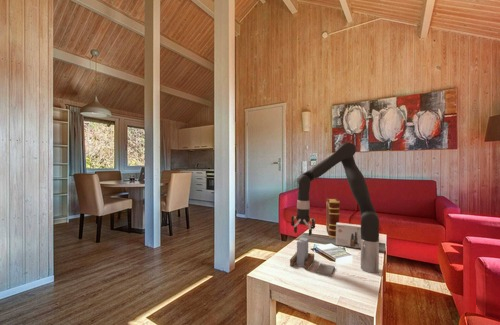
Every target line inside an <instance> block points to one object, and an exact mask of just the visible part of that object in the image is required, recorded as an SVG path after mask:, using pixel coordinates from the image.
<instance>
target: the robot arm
mask: <svg viewBox="0 0 500 325" xmlns="http://www.w3.org/2000/svg"><path fill="white" fill-rule="evenodd" d="M356 151H357V148H356V145H355V144H354V143H352V142H344V143H341V145H340V146H338V148H337V150H336V151H334V152H333V153H331V155H329V156H328V157H326V158H324V159H323V160H321V161H320V162H318V163H317V164H315V165H314V166H312V167H311V168H310V169H308V170H306V171H305V172H303V173H302V174H299V176H298V177H297V179H296V181H297V184H298V191H297V200H296V201H297V202H296V216H295V215H292V216H291V220H290V221H291V222H290V226H292V227H293V231H294V233H295V234H297V233H298V225H299V224H300V225H304V226H306V227H307V228H308V236H311V235H313V234H312V233H313V230H314V229H315V228H316V219H315V218H314V217H313V218H311V217H310V210H311V209H310V208H311V206H310V204H311V203H310V191H311V190H310V189H311V182H312V181H314V180H315V179H319V178H320V177H321V176H323V175H324V174H326V173H327V172H328V171H330V170H331V169H332V168H333V167H335V166H336V165H337V164H339V163H341V164H342V166H343V168H344V173H345V176H346V180H347V182H348V186H349V188H350V192H351V193H352V195H353V197H354V199H355V200H356V203H357V205H358V207H359V212H360V225H361V248H360V269H361V270H362V271H364V272H367V273H372V274H373V273H374V274H379V272H380V270H379V267H380V262H379V260H380V257H379V256H380V254H379V252H380V251H379V248H380V247H379V246H380V245H379V244H380V218H379V216H378V213H377V212H376V210H375V208H374V205H373V203H372V200H371V196H370V191H369V187H368V184H367V182H366V178H365V177H364V175H363V173H362V171H361V170H360V169H359V167H358V166H357V163H356V161H355V157H354V155H356ZM295 220H296V222H295ZM310 222H311V223H310Z"/></svg>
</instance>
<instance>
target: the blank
mask: <svg viewBox="0 0 500 325" xmlns="http://www.w3.org/2000/svg"><path fill="white" fill-rule="evenodd" d="M296 252H297V262H296V266H298V267H304V268H305V262H306V261H307V259H308V253H309V238H306V237H300V238H299V239H298V240H296Z"/></svg>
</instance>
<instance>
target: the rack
mask: <svg viewBox="0 0 500 325" xmlns="http://www.w3.org/2000/svg"><path fill="white" fill-rule="evenodd" d="M314 261H315V253H311V252H308V259H307V261H306V262H305V266H304V270H306V271H308V270H309V269H310V267H311V266H312V264H313V263H314ZM295 264H297V251H296V252H295V253H294V254H293V255H292V257H290V259H289V266H290V267H291V268H292V267H294V265H295Z"/></svg>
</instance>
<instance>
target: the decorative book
mask: <svg viewBox="0 0 500 325" xmlns="http://www.w3.org/2000/svg"><path fill="white" fill-rule="evenodd" d="M340 202H341V201H340V200H339V199H338V198H336V197H334V198H328V197H326V207H325V208H326V215H325V216H326V217H325V218H326V219H325V220H326V224H325V226H326V229H325V230H326V232H327V234H328V237H329V238H331V239H332V238H334V239H336V223H340V214H341V213H340Z"/></svg>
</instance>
